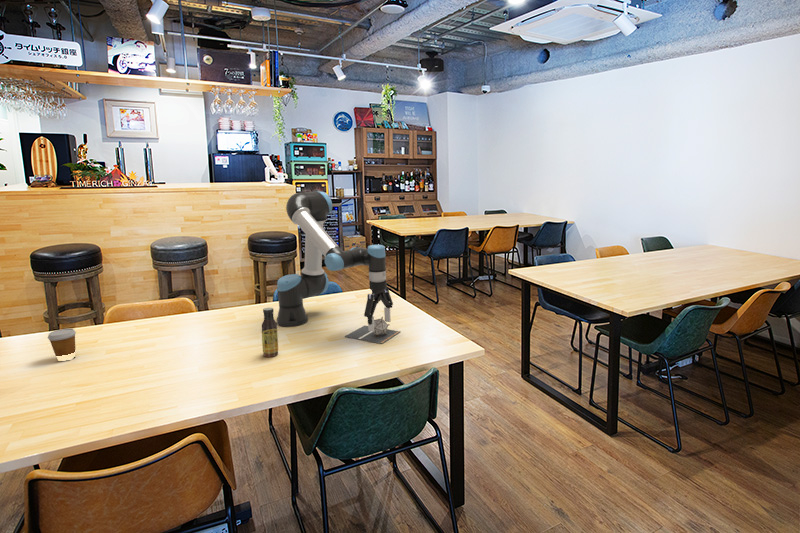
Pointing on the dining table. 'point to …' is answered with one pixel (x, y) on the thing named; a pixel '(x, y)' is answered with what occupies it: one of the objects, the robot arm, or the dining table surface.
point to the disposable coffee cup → (63, 341)
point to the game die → (380, 327)
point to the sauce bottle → (269, 334)
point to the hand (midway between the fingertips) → (379, 326)
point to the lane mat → (372, 335)
